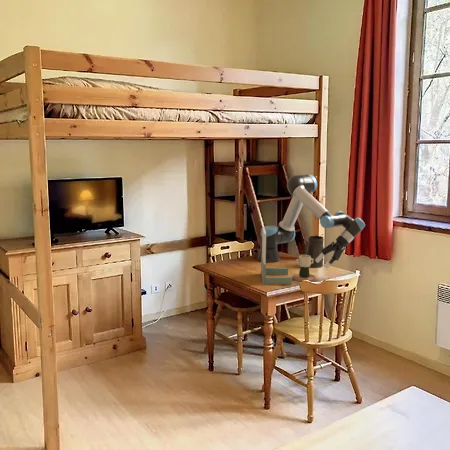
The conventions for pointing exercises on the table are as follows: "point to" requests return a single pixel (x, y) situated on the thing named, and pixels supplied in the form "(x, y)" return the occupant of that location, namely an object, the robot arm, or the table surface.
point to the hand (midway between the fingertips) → (320, 264)
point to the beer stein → (314, 249)
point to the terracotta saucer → (300, 278)
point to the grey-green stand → (272, 271)
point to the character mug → (304, 264)
